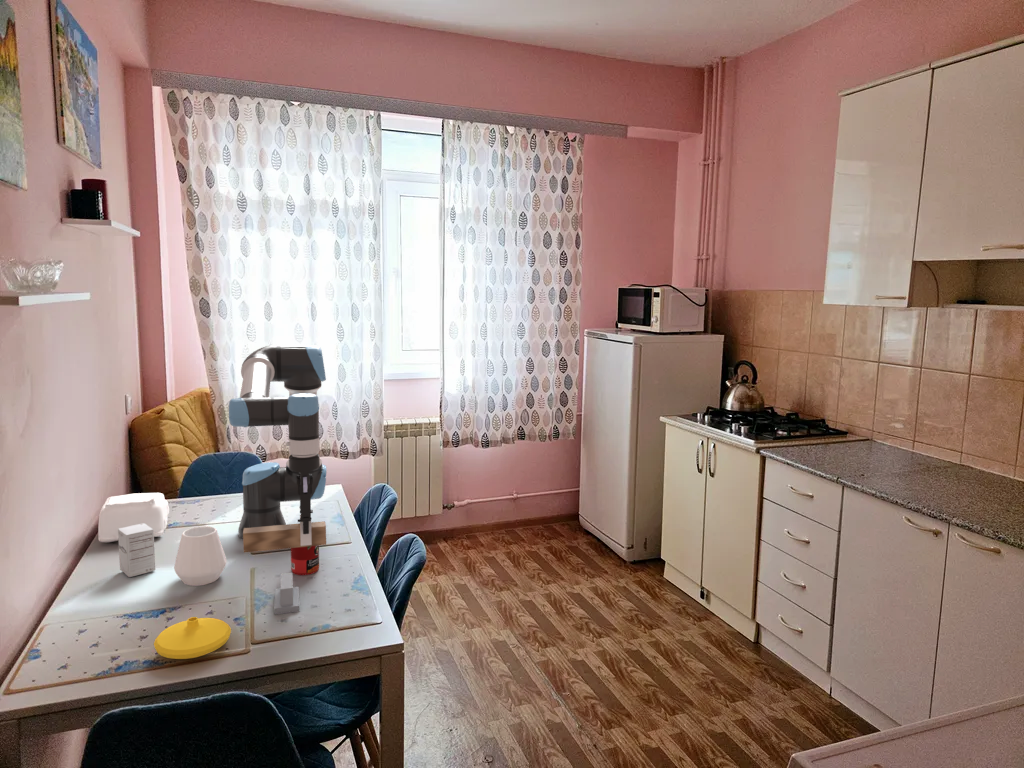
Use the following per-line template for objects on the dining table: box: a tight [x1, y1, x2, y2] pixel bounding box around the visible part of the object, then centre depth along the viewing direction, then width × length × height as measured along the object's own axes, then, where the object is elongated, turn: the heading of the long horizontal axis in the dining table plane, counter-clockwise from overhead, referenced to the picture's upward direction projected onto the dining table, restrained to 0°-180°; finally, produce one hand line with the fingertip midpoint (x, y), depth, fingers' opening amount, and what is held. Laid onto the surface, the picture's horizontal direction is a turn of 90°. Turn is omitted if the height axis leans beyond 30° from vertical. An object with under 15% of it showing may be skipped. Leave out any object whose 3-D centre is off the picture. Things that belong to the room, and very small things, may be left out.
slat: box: [242, 520, 327, 554], centre depth 171 cm, size 20×4×5 cm, turn 109°
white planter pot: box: [173, 525, 228, 587], centre depth 186 cm, size 13×13×14 cm
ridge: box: [273, 572, 300, 615], centre depth 173 cm, size 12×6×6 cm, turn 18°
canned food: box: [290, 545, 320, 576], centre depth 193 cm, size 8×8×11 cm
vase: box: [153, 616, 232, 660], centre depth 149 cm, size 16×16×7 cm
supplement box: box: [118, 523, 156, 578], centre depth 190 cm, size 7×7×13 cm
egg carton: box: [97, 492, 170, 543], centre depth 225 cm, size 19×30×13 cm, turn 24°
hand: (305, 541), depth 173 cm, fingers closed on slat, 4 cm apart
